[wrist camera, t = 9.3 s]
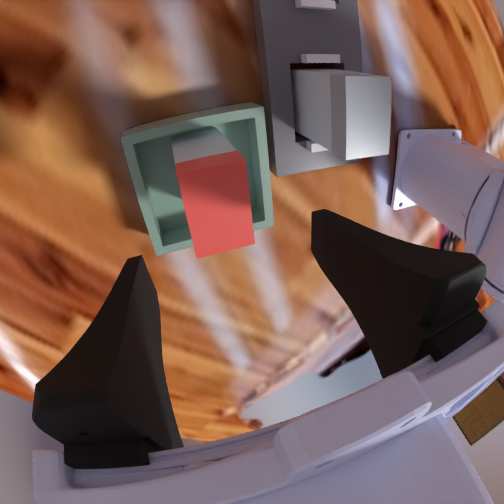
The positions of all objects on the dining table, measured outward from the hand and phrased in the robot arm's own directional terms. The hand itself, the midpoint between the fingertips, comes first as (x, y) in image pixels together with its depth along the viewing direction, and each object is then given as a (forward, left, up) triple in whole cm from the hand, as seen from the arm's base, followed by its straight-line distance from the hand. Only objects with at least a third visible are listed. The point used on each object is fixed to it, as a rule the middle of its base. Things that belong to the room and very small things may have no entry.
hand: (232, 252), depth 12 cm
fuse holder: (-8, -9, -10) cm, 16 cm away
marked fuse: (0, -1, -9) cm, 9 cm away
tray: (0, 0, -10) cm, 10 cm away
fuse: (-8, -4, -10) cm, 14 cm away
